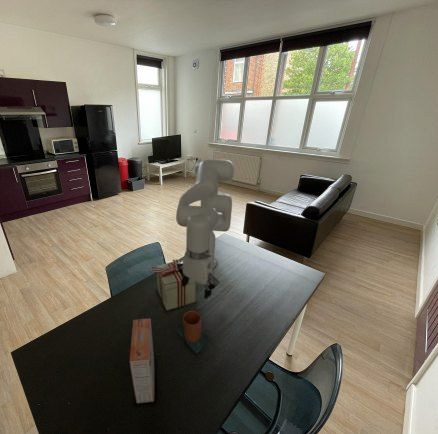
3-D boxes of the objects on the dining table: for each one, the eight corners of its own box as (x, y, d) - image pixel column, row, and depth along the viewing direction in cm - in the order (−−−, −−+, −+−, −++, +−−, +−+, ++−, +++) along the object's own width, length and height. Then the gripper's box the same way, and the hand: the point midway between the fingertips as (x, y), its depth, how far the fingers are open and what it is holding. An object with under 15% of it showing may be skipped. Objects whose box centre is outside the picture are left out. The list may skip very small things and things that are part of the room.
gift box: (180, 278, 126) (180, 250, 119) (198, 301, 111) (199, 272, 104) (150, 288, 120) (148, 259, 112) (164, 314, 104) (163, 283, 97)
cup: (180, 335, 93) (179, 319, 89) (190, 323, 98) (189, 307, 93) (194, 345, 89) (194, 328, 85) (204, 332, 94) (204, 316, 90)
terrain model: (211, 341, 92) (211, 338, 91) (196, 354, 88) (196, 351, 87) (188, 321, 101) (188, 318, 100) (174, 332, 97) (174, 328, 96)
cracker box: (137, 360, 86) (132, 318, 77) (154, 359, 86) (151, 317, 77) (134, 404, 73) (128, 360, 64) (154, 402, 73) (150, 358, 64)
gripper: (226, 255, 77) (222, 295, 84) (183, 238, 86) (183, 275, 94) (214, 266, 72) (211, 308, 79) (170, 247, 81) (171, 285, 89)
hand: (196, 290), depth 87 cm, fingers open, 9 cm apart
